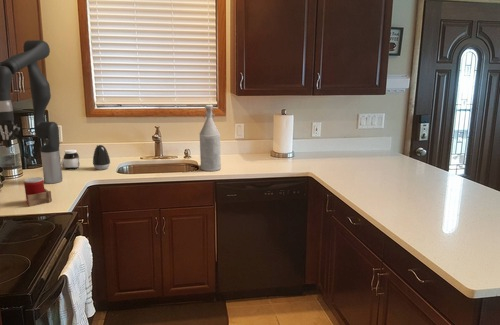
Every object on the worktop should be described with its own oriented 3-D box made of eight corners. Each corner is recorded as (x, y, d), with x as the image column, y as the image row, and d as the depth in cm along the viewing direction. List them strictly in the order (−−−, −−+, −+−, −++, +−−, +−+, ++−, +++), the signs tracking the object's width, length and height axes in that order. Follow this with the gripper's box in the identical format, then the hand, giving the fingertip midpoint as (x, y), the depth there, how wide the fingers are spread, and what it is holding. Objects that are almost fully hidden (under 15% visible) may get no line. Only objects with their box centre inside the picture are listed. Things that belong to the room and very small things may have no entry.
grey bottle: (218, 164, 268) (217, 103, 259) (222, 171, 251) (221, 105, 243) (198, 165, 265) (196, 103, 256) (202, 172, 248) (200, 106, 240)
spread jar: (74, 170, 254) (73, 151, 252) (56, 170, 254) (54, 151, 252) (83, 166, 266) (81, 148, 263) (65, 166, 266) (63, 148, 264)
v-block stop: (42, 197, 200) (41, 187, 199) (57, 197, 200) (56, 187, 199) (27, 206, 187) (26, 195, 186) (43, 206, 187) (42, 195, 186)
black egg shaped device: (106, 166, 265) (104, 142, 261) (113, 169, 257) (111, 145, 254) (90, 168, 258) (88, 144, 255) (96, 171, 251) (94, 147, 247)
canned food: (48, 201, 194) (46, 178, 192) (31, 205, 188) (28, 182, 186) (41, 198, 199) (38, 176, 196) (23, 202, 193) (20, 179, 190)
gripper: (22, 109, 194) (26, 145, 198) (-6, 109, 194) (-1, 145, 198) (12, 111, 186) (17, 148, 190) (-16, 111, 187) (-11, 148, 191)
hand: (8, 147), depth 194 cm, fingers closed
